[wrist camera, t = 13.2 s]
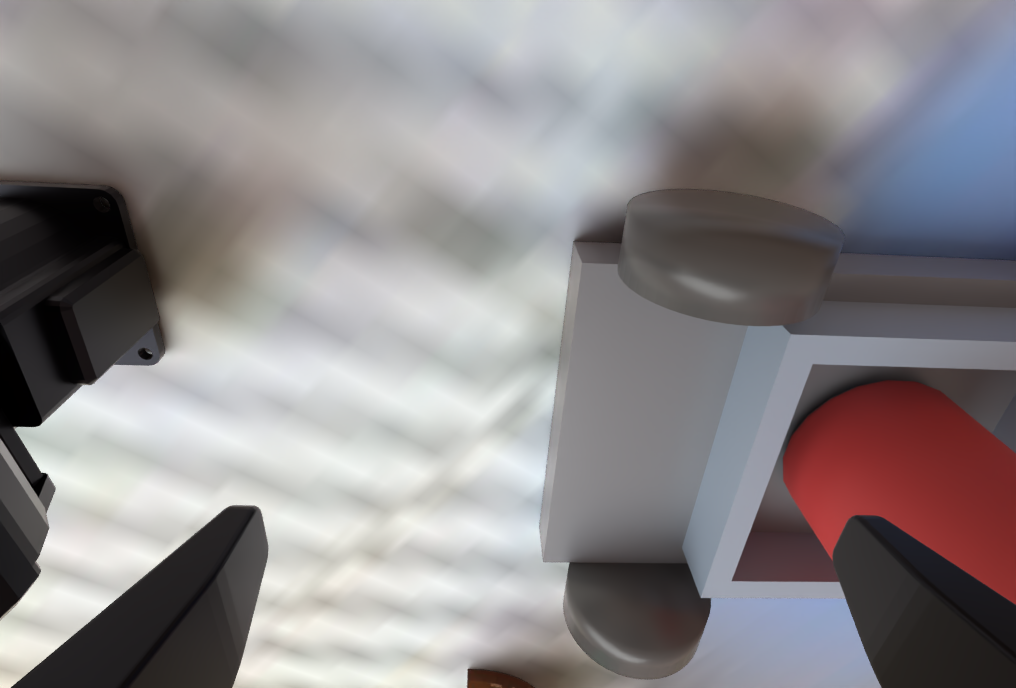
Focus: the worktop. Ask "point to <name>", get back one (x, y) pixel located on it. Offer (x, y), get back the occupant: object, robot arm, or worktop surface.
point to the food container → (493, 680)
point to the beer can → (909, 475)
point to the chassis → (732, 403)
